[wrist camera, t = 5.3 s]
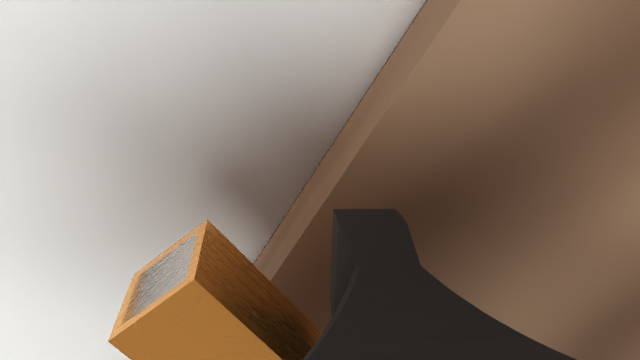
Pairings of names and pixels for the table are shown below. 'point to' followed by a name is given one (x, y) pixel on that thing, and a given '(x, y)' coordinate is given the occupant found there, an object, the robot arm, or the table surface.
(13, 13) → the table surface
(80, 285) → the table surface
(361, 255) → the robot arm
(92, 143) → the table surface
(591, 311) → the bench block
